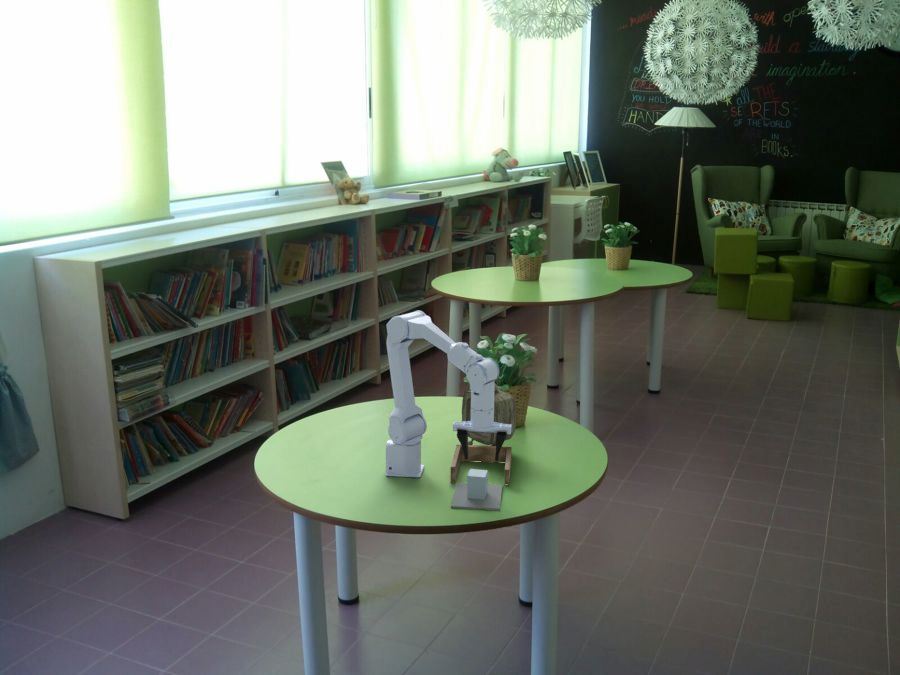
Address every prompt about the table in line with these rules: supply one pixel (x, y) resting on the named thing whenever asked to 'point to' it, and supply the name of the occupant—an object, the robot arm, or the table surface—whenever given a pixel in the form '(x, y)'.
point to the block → (477, 484)
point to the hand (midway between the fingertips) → (481, 458)
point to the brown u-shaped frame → (481, 458)
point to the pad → (489, 503)
